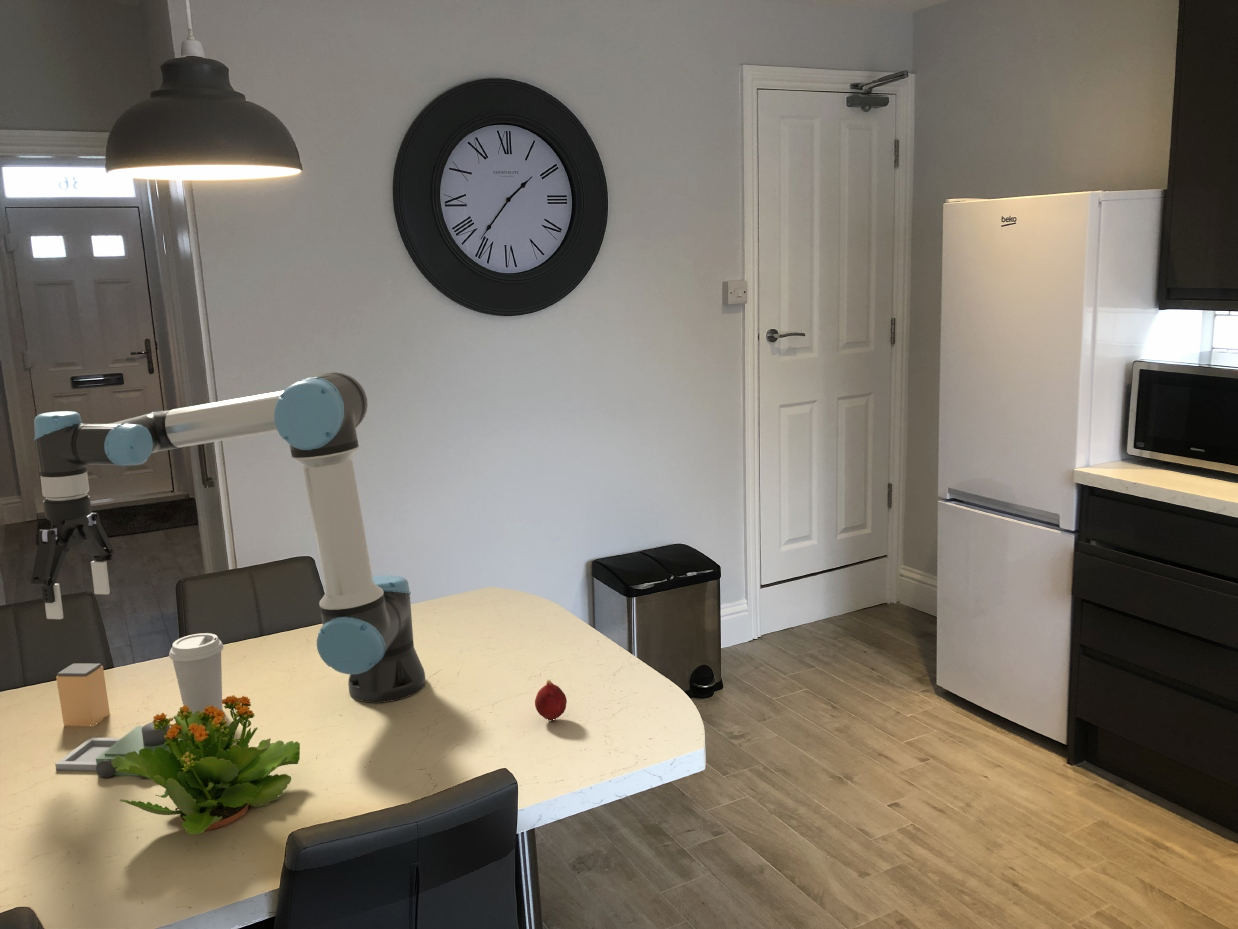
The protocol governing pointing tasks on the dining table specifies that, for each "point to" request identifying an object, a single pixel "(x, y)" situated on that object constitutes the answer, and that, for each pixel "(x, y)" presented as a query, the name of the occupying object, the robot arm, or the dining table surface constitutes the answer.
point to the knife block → (82, 694)
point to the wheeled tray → (112, 751)
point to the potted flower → (211, 766)
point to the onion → (550, 701)
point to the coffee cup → (198, 670)
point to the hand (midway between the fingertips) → (79, 605)
